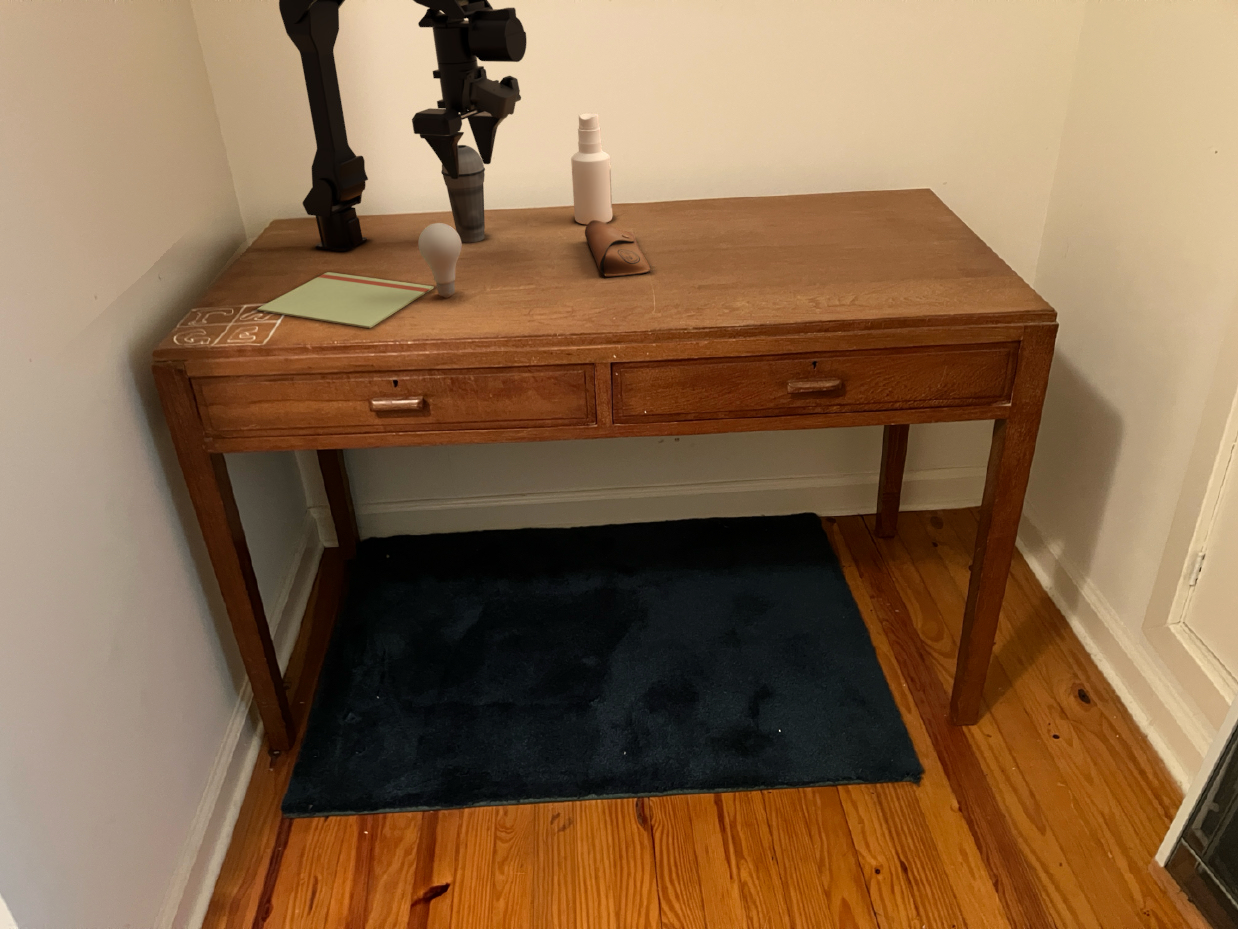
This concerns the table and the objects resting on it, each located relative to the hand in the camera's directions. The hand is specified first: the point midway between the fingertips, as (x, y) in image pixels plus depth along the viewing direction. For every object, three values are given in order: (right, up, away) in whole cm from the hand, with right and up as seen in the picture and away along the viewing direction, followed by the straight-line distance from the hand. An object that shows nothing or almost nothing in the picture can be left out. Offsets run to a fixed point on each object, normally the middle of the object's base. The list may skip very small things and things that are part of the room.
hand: (471, 171), depth 140 cm
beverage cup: (-3, -6, +19) cm, 20 cm away
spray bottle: (+18, -1, +25) cm, 31 cm away
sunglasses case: (+22, -11, +8) cm, 26 cm away
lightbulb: (-3, -20, -5) cm, 21 cm away
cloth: (-18, -20, -4) cm, 27 cm away
